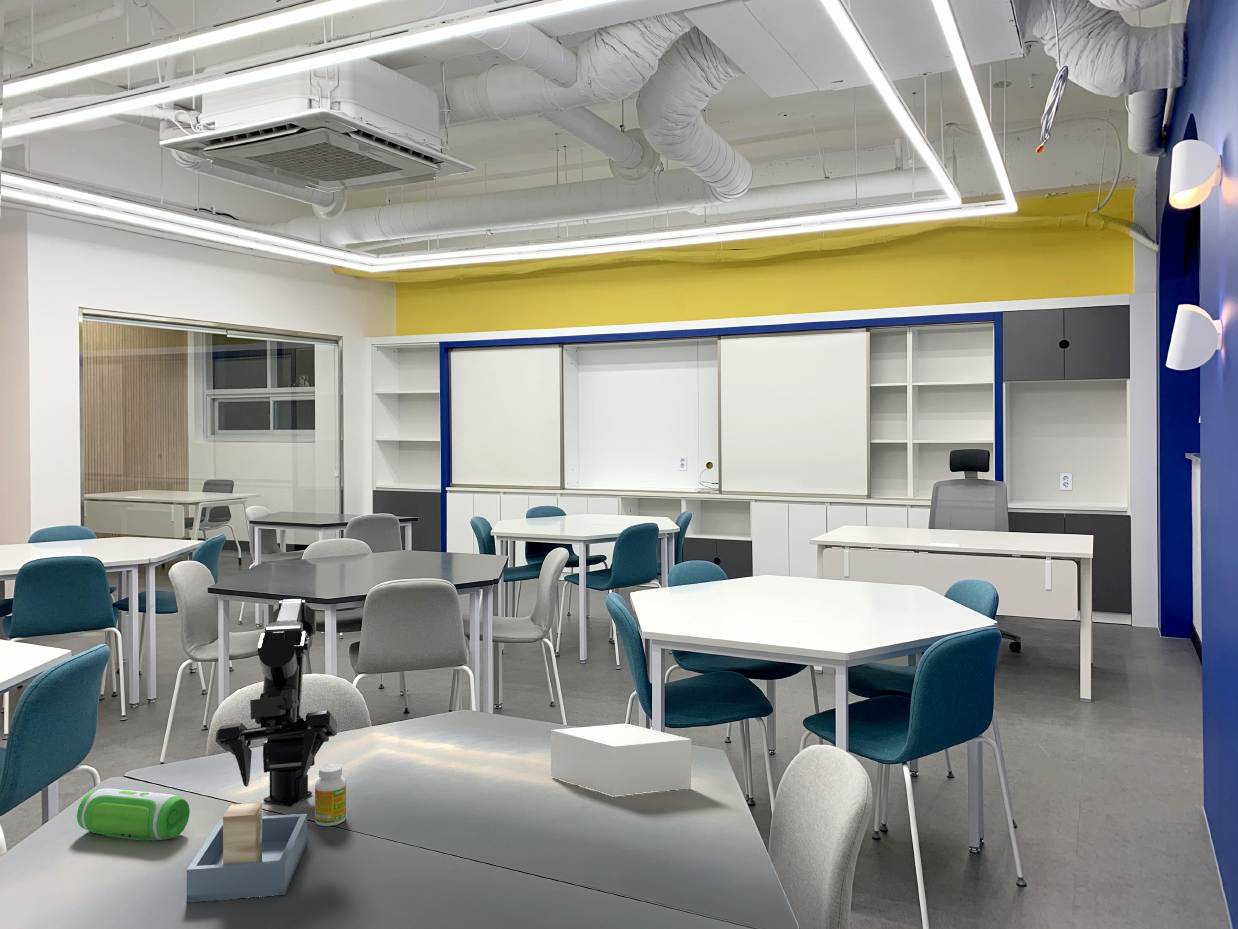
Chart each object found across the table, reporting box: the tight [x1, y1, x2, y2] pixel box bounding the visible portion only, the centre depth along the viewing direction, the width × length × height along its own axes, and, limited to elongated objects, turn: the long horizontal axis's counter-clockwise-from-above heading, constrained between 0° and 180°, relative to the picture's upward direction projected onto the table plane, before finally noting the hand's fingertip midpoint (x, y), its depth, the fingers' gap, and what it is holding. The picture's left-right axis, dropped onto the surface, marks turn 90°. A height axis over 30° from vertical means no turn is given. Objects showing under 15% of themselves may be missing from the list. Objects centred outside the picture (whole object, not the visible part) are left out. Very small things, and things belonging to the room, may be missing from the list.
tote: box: [186, 813, 308, 904], centre depth 140 cm, size 18×14×5 cm
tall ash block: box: [222, 802, 263, 864], centre depth 135 cm, size 5×5×11 cm
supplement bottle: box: [314, 763, 347, 827], centre depth 159 cm, size 5×5×10 cm
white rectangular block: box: [550, 723, 692, 796], centre depth 178 cm, size 14×29×10 cm, turn 80°
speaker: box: [76, 787, 190, 841], centre depth 153 cm, size 18×7×8 cm, turn 79°
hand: (274, 781), depth 145 cm, fingers open, 9 cm apart
